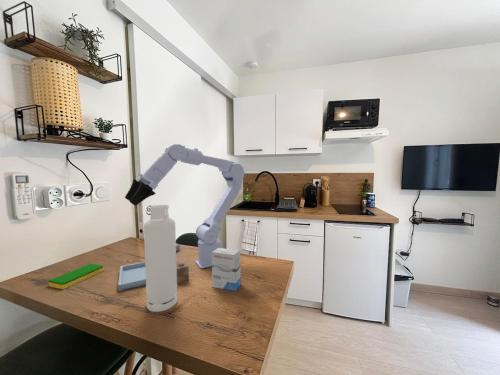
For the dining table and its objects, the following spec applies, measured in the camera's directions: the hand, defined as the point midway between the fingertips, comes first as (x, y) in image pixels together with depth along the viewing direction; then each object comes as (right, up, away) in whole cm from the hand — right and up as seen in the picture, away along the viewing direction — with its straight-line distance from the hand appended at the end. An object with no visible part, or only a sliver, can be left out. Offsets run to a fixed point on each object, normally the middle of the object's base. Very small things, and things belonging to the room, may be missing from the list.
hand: (129, 201), depth 69 cm
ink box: (+32, -28, 0) cm, 43 cm away
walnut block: (+16, -28, +4) cm, 32 cm away
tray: (+1, -27, +7) cm, 28 cm away
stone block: (0, -27, +29) cm, 39 cm away
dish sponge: (-22, -28, +6) cm, 36 cm away
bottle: (+15, -29, -9) cm, 33 cm away
